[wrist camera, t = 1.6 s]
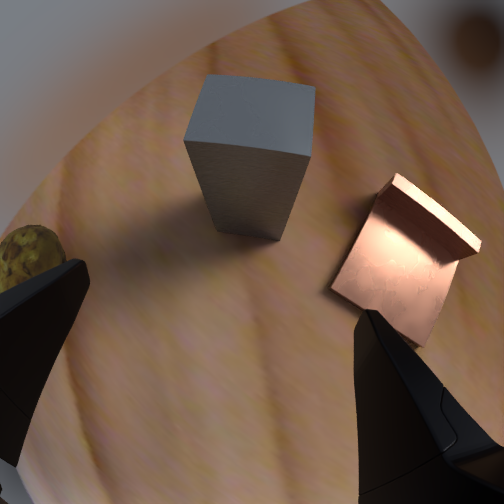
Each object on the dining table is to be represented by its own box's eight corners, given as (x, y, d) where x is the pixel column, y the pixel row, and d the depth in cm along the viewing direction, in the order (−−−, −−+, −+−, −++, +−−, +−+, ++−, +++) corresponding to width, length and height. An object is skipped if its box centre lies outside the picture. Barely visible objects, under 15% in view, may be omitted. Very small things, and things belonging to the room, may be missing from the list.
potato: (4, 253, 22) (-46, 234, 14) (92, 235, 23) (39, 203, 15) (5, 330, 20) (-49, 327, 13) (96, 331, 21) (36, 332, 13)
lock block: (279, 240, 23) (310, 156, 10) (216, 231, 23) (183, 140, 11) (286, 194, 23) (315, 86, 11) (226, 185, 24) (207, 74, 11)
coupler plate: (419, 347, 21) (444, 349, 17) (328, 288, 22) (343, 282, 18) (456, 251, 22) (481, 241, 19) (378, 191, 24) (396, 172, 20)
